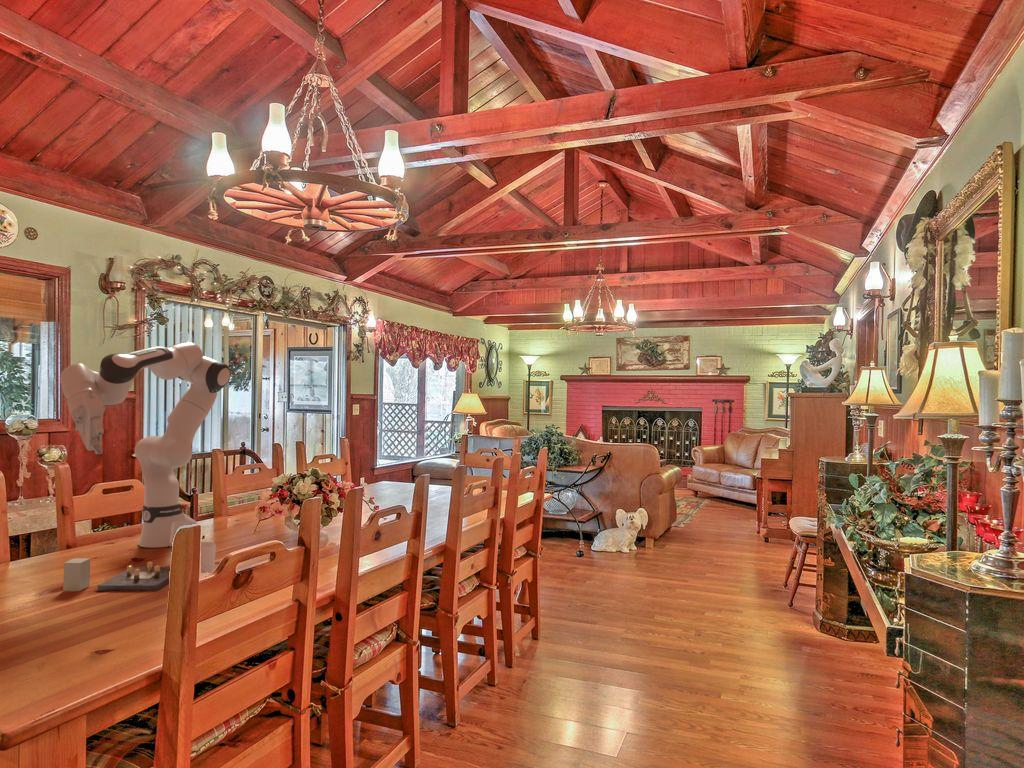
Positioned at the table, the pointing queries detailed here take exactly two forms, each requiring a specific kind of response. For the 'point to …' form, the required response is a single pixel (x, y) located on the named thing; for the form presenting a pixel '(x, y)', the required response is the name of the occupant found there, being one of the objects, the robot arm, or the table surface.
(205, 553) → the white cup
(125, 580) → the chassis
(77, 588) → the block
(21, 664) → the table surface
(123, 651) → the table surface
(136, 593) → the table surface
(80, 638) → the table surface
